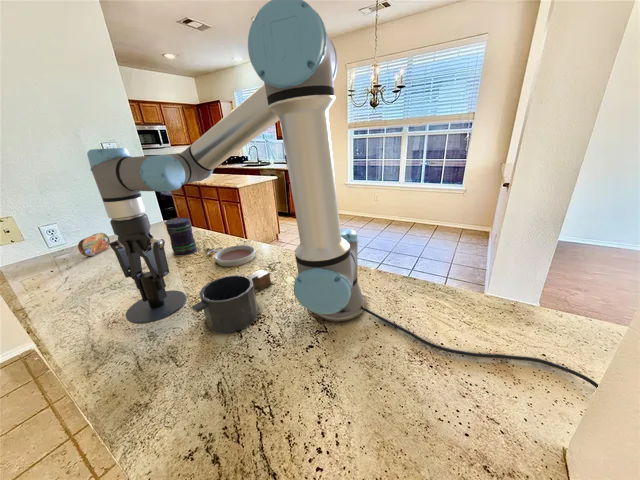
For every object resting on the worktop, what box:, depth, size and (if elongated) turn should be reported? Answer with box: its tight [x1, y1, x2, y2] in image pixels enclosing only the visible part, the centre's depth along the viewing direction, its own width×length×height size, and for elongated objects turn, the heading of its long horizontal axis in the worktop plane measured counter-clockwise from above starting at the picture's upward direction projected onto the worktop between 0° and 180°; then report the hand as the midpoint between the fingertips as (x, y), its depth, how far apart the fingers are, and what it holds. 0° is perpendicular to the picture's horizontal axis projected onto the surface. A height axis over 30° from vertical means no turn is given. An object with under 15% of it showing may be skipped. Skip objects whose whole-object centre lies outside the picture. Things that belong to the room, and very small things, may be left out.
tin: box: [77, 232, 111, 257], centre depth 125 cm, size 15×3×8 cm, turn 179°
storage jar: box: [164, 216, 198, 257], centre depth 119 cm, size 10×10×15 cm
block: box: [252, 269, 272, 291], centre depth 88 cm, size 4×4×4 cm
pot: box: [191, 273, 259, 334], centre depth 72 cm, size 14×19×10 cm
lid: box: [125, 271, 188, 325], centre depth 71 cm, size 15×15×11 cm
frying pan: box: [205, 244, 257, 267], centre depth 114 cm, size 17×3×28 cm
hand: (155, 298), depth 72 cm, fingers closed on lid, 4 cm apart
